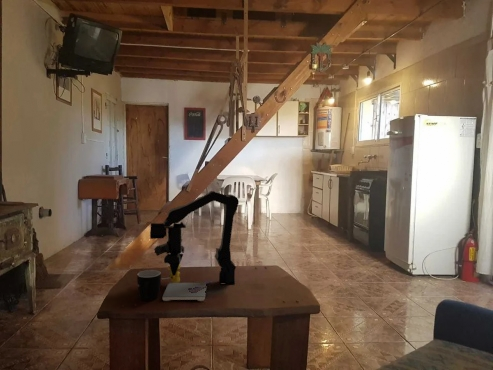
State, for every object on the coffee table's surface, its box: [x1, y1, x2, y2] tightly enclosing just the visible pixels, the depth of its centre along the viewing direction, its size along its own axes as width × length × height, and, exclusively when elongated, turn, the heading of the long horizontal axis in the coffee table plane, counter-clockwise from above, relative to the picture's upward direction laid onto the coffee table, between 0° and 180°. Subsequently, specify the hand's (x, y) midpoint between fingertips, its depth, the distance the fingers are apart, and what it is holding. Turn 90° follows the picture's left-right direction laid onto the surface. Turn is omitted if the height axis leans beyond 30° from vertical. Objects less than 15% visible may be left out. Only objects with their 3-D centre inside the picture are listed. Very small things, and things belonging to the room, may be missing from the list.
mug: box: [136, 269, 162, 302], centre depth 140 cm, size 12×9×10 cm
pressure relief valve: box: [161, 264, 182, 283], centre depth 158 cm, size 6×12×10 cm, turn 68°
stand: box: [162, 282, 207, 302], centre depth 147 cm, size 16×15×2 cm
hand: (174, 273), depth 157 cm, fingers closed on pressure relief valve, 5 cm apart
